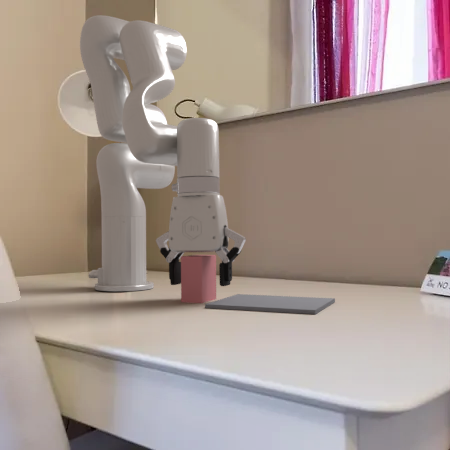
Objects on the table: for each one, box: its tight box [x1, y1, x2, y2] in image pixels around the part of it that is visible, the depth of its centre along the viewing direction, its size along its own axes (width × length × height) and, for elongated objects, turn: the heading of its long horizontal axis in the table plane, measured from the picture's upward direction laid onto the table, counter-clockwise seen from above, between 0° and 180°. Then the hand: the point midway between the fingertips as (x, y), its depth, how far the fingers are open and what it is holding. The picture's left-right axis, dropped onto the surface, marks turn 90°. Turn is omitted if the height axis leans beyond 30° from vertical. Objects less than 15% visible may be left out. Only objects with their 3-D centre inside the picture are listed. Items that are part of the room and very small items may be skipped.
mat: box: [204, 293, 336, 315], centre depth 88 cm, size 18×14×1 cm
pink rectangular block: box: [180, 254, 217, 304], centre depth 94 cm, size 4×6×8 cm, turn 156°
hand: (200, 284), depth 94 cm, fingers open, 9 cm apart
